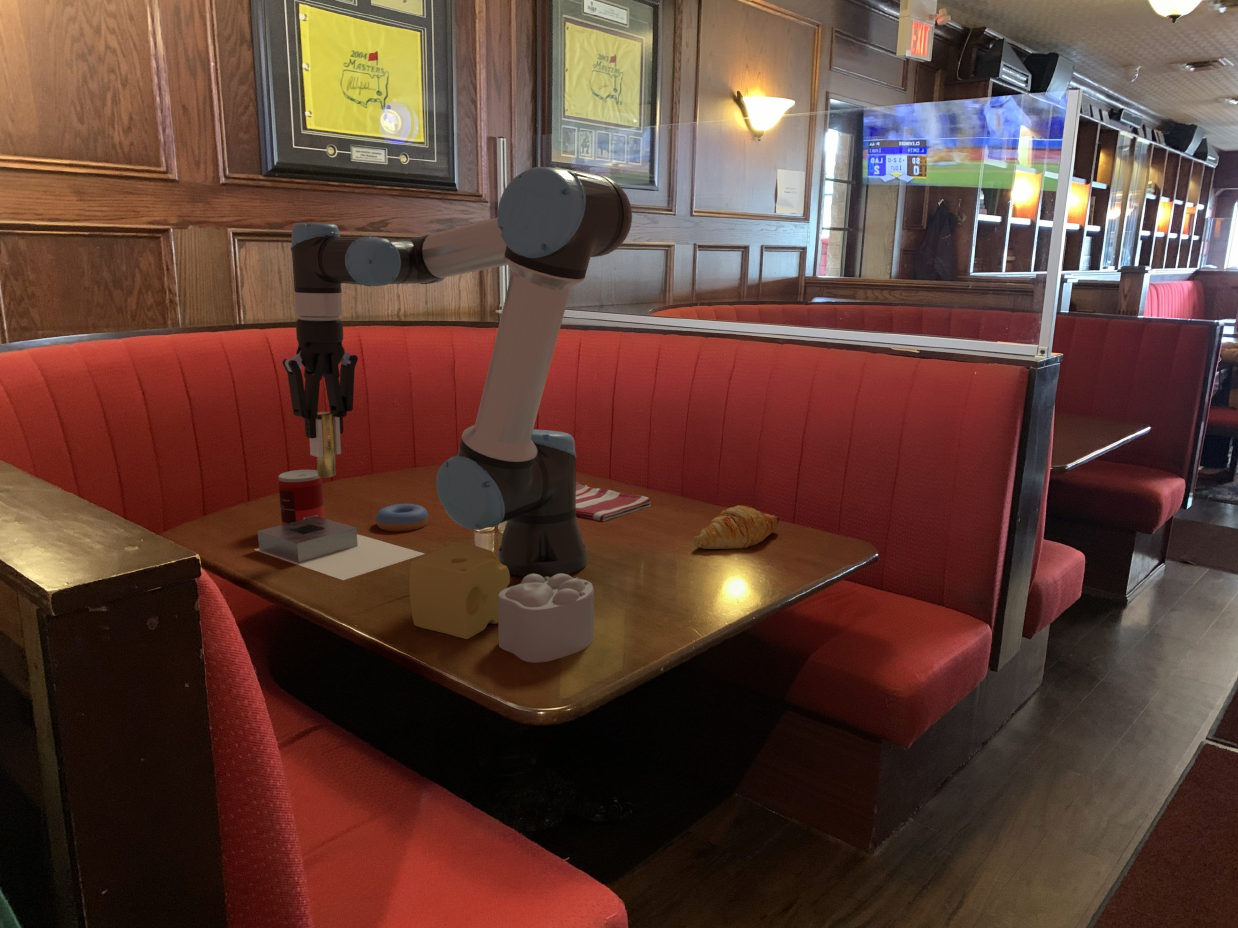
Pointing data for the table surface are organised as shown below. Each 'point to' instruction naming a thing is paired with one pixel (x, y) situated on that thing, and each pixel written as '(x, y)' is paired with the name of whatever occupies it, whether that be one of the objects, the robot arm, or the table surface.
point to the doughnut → (402, 517)
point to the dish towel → (606, 503)
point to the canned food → (300, 495)
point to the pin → (327, 446)
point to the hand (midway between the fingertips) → (325, 454)
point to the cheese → (457, 589)
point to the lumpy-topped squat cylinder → (546, 617)
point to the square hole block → (307, 539)
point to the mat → (357, 558)
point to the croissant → (736, 529)
